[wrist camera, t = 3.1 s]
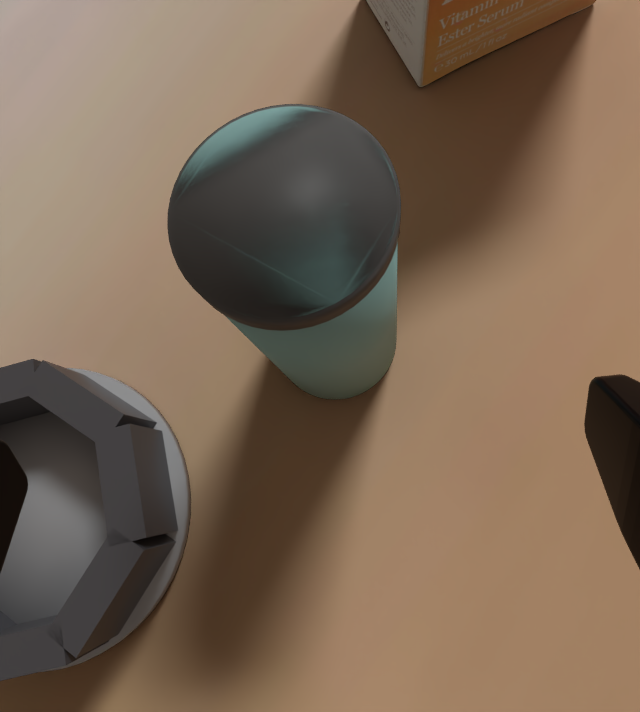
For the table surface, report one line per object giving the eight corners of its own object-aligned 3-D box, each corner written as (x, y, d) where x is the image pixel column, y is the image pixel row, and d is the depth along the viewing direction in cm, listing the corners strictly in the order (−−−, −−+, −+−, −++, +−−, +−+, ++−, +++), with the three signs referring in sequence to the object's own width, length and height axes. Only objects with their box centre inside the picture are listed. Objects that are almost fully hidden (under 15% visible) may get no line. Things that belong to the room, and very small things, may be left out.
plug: (412, 383, 19) (430, 284, 10) (290, 414, 20) (188, 349, 10) (379, 268, 20) (366, 76, 11) (264, 299, 21) (150, 141, 11)
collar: (215, 630, 18) (181, 658, 15) (-69, 695, 19) (-152, 734, 16) (165, 340, 21) (128, 317, 18) (-83, 408, 22) (-157, 396, 19)
